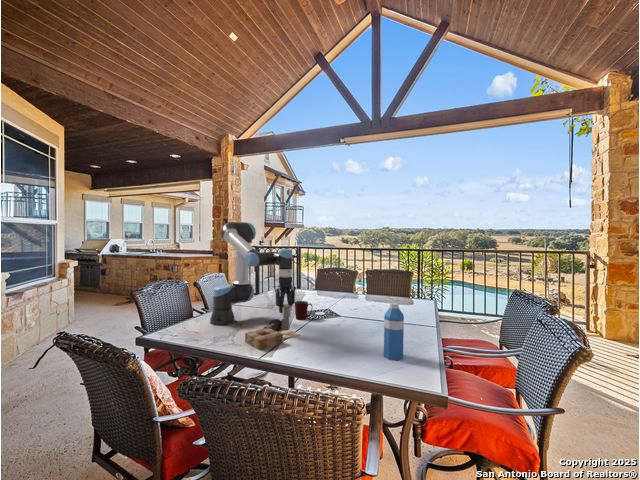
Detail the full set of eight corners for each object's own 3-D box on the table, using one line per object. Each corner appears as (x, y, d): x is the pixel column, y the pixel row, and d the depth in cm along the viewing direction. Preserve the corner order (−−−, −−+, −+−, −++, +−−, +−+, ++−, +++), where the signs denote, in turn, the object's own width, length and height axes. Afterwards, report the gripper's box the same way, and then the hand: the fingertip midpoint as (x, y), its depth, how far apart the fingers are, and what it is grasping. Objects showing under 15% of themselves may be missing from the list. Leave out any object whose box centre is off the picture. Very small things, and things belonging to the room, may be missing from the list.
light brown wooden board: (270, 334, 170) (270, 333, 170) (287, 330, 178) (287, 329, 178) (282, 340, 161) (282, 338, 161) (300, 335, 169) (300, 334, 169)
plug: (280, 329, 169) (280, 304, 169) (286, 327, 172) (286, 303, 172) (284, 330, 167) (284, 305, 166) (290, 329, 169) (290, 304, 169)
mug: (313, 317, 206) (313, 301, 206) (311, 320, 198) (311, 304, 197) (296, 316, 208) (296, 300, 208) (293, 320, 199) (293, 303, 199)
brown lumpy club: (270, 335, 166) (269, 325, 166) (259, 334, 168) (259, 324, 169) (284, 327, 183) (283, 317, 183) (274, 326, 185) (274, 317, 185)
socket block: (245, 342, 157) (245, 333, 157) (267, 336, 166) (267, 327, 166) (259, 350, 147) (259, 340, 146) (282, 343, 156) (282, 333, 156)
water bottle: (380, 352, 145) (381, 301, 145) (399, 352, 146) (400, 301, 145) (386, 360, 136) (387, 306, 135) (406, 360, 137) (407, 305, 136)
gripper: (277, 278, 161) (276, 321, 161) (301, 275, 172) (301, 316, 173) (269, 277, 166) (268, 319, 166) (293, 274, 178) (293, 313, 178)
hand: (285, 317), depth 169 cm, fingers closed on plug, 4 cm apart
